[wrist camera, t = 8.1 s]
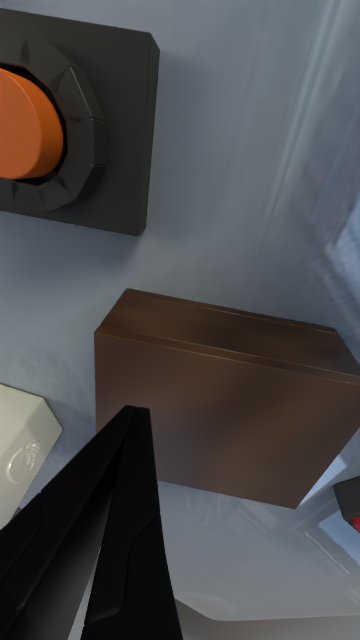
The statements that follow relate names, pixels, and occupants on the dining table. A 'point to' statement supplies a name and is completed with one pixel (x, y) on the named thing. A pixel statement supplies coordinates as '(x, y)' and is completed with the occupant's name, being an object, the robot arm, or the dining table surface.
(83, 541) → the robot arm
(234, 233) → the dining table surface
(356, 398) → the lid
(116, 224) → the control block
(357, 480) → the calculator
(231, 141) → the dining table surface
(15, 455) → the jar
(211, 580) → the dining table surface
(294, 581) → the dining table surface
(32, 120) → the button
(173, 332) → the wooden box
